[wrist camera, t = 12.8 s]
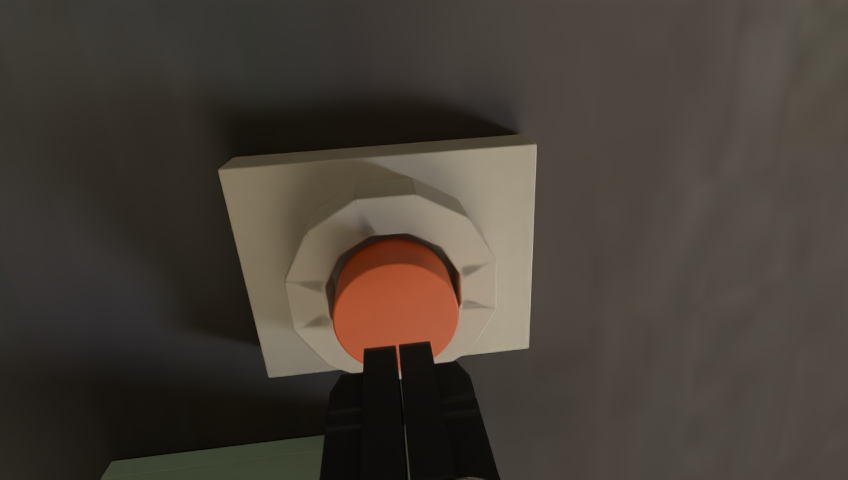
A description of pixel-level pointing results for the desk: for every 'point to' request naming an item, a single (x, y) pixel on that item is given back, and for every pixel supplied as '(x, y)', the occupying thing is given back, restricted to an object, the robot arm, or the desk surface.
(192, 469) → the box
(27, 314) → the desk surface
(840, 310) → the desk surface
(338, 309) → the button
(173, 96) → the desk surface
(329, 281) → the control pad
